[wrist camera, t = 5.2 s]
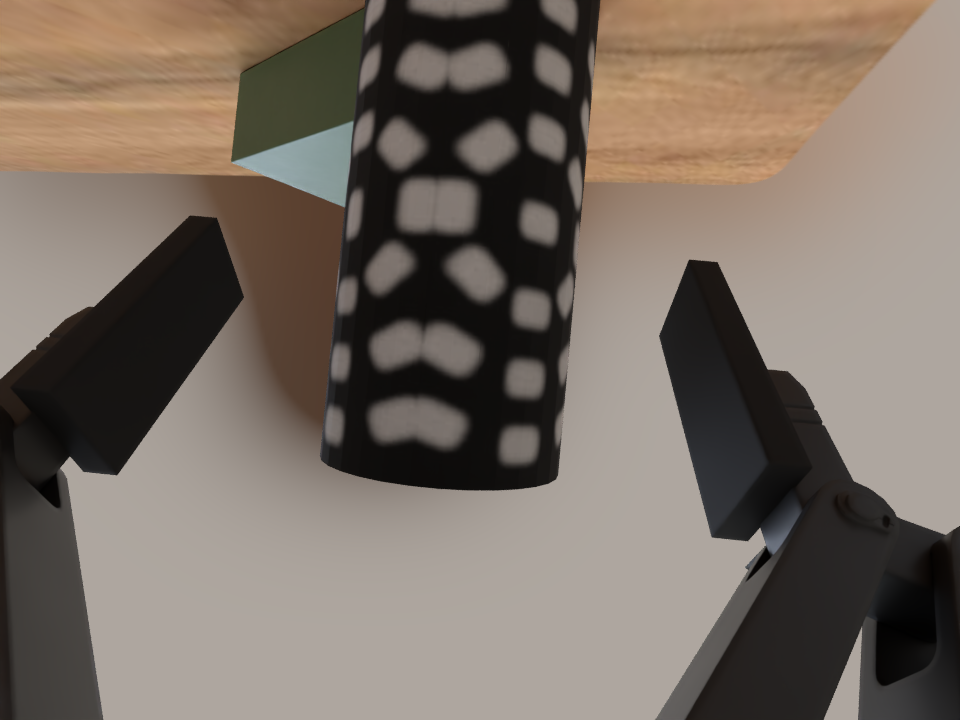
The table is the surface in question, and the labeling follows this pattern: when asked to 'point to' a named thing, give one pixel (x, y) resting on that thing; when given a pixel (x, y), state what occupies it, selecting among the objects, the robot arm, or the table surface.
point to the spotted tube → (460, 242)
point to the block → (302, 112)
